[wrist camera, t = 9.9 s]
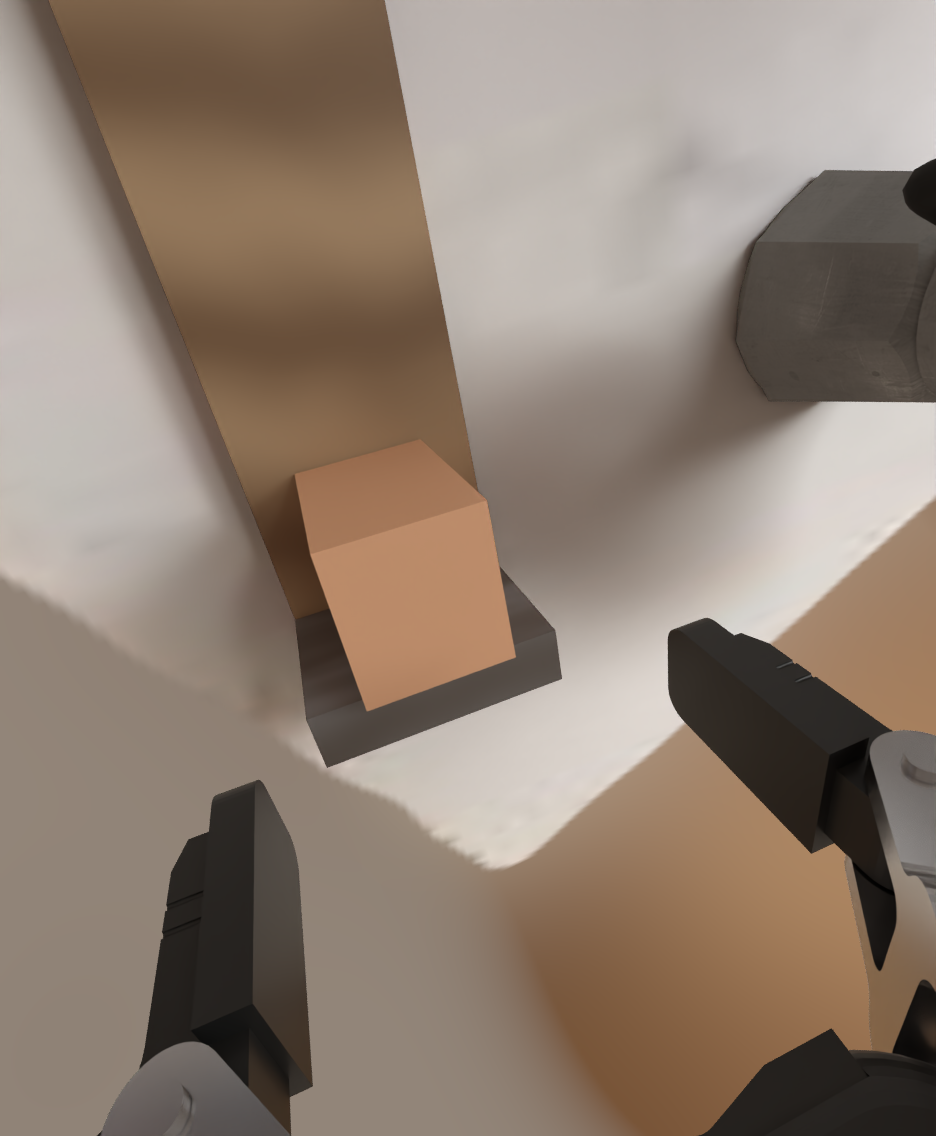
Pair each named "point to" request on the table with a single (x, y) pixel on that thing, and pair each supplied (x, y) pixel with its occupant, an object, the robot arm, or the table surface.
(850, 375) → the coffeepot
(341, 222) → the rail
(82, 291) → the table surface
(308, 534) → the tan tall block
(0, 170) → the table surface
